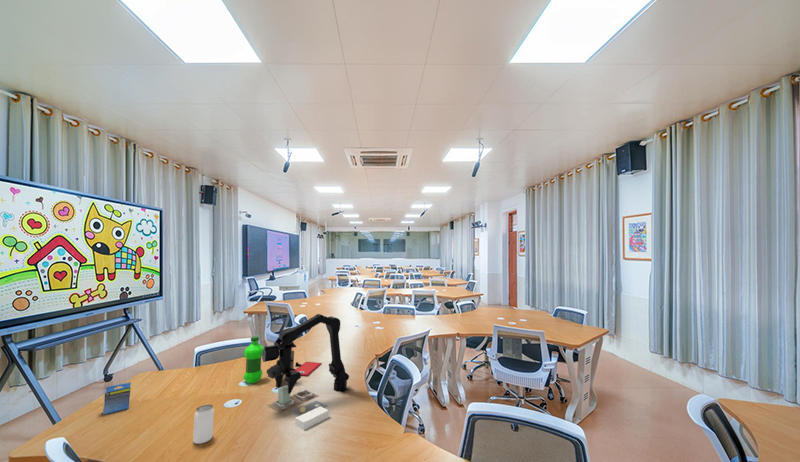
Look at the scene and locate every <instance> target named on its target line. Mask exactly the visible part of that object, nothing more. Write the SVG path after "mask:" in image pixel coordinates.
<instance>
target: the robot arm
mask: <svg viewBox="0 0 800 462" xmlns="http://www.w3.org/2000/svg"><path fill="white" fill-rule="evenodd" d="M319 324H324V325H325V327H326V330H327V331H328V334H329V343H330V350H331V351H330V353H331V362H330V363H328V369H329V370H328V372H330V374H331V375H332V377H333V378H335V379H334V382H333V391H335V392H341V393H344V392H346V391H349V390H350V389H349V388H348V380H349V378H350V375H349V374H348V373H347V372H346V369H345V365H344V363H343V361H342V357H341V347H340V346H341V345H340V338H339V332H340V330H341V320H340V319H339V318H338V317H335V316H332V315H331V316H326V315H323V314H320V313H317V314H315V315H314V316H312V317H311V318H308V319H307V320H305V321H303V322H302V323H299V324H297V325H296V326H294V327H290V328H286V329H284V330H282V331H280V332H279V333H278V337H277V339H276V340H275V341H274V343H273V345H265V346H263V348H264V349H263V353H262V357H261V361H262V362H263V363H267V362H271V361H275V360H276V364H274V365H272V366H270V367H269V368H267V369H266V374H267V377H268V378H270V379H274V380H275V385H276V384H277V387H276V388H277V389H278V388H280V387H281V383H282V379H283V375H286V376H285V379H286V380H285V381H286V382H287V383H288V385H287V386H288V394H290V395H291V393H292V392H293V390H294V387H295V385H296V383H297V382H298V380H300V379H302V376H301V373H300V372H298V371H293V372H290V371H291V370H293V368H294V367H293V368H292V367H291V362H293V359H292V350H293V349H294V348H296V347H297V345H296V343H294V341H296V340H297V339H298V337H299V336H300V335H302V334H303V333H306V332H307V331H309V330H310V329H312V328H314V327H315V326H317V325H319Z"/></svg>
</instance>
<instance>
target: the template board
mask: <svg viewBox="0 0 800 462" xmlns="http://www.w3.org/2000/svg"><path fill="white" fill-rule="evenodd" d="M320 406H321V407H323V408H325V409H326V408H327V407H328V405H327V404H324V403H322V402H320V401H318V400H315V401H312V402H310V403H308V404H305V405H303V406H300V407H299V408H295V409H294V410H292V411H291V413H293V414H295V415H296V416H297V417H298V416H300V415H303V414H305V413H307V412H309V411H311V410H313V409H315V408H318V407H320Z"/></svg>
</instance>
